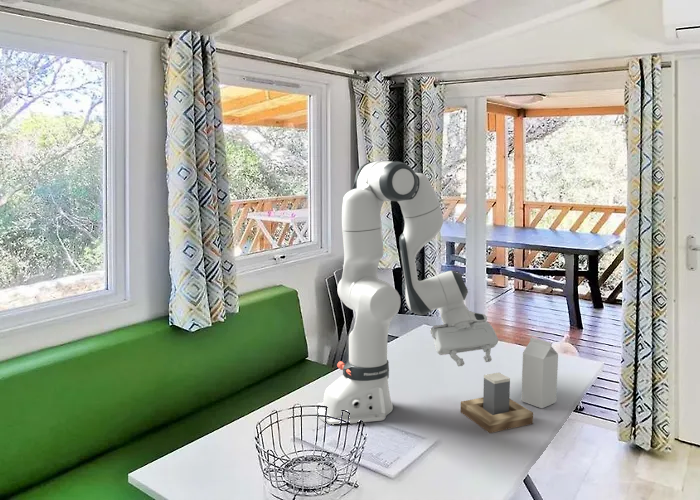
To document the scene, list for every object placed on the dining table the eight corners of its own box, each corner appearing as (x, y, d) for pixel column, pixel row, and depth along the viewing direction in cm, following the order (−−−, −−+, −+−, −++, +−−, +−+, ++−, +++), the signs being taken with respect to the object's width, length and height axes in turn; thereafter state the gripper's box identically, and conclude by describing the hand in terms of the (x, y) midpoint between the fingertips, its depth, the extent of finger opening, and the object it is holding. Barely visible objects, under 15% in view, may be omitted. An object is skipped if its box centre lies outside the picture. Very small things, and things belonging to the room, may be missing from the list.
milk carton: (541, 409, 165) (544, 345, 162) (521, 401, 170) (523, 339, 167) (556, 403, 169) (558, 340, 166) (535, 395, 174) (537, 335, 172)
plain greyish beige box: (493, 416, 156) (494, 381, 154) (483, 409, 160) (483, 375, 159) (509, 413, 158) (510, 378, 156) (498, 406, 162) (498, 372, 161)
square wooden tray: (489, 433, 150) (489, 421, 150) (460, 412, 163) (460, 401, 163) (532, 423, 155) (533, 412, 155) (501, 404, 168) (501, 393, 168)
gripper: (432, 321, 171) (448, 362, 163) (490, 314, 178) (508, 354, 170) (424, 331, 176) (440, 372, 168) (481, 324, 183) (499, 363, 175)
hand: (475, 363), depth 169 cm, fingers open, 8 cm apart
